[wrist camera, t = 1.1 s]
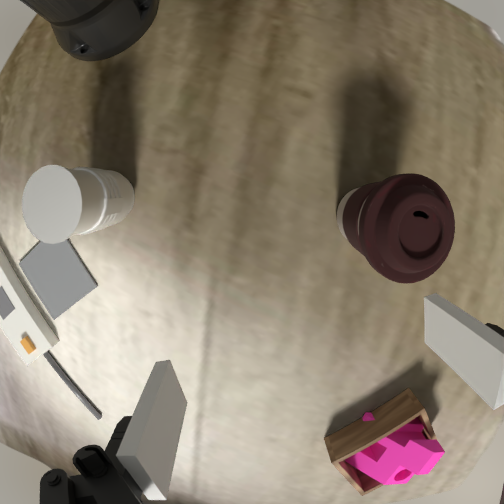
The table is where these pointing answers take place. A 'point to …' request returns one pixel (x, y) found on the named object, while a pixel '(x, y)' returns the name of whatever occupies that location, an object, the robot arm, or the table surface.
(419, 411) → the display box
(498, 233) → the table surface
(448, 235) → the coffee cup
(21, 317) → the power strip
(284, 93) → the table surface
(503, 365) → the robot arm
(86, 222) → the grey ribbed canister
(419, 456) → the bracket
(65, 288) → the mat
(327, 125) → the table surface
